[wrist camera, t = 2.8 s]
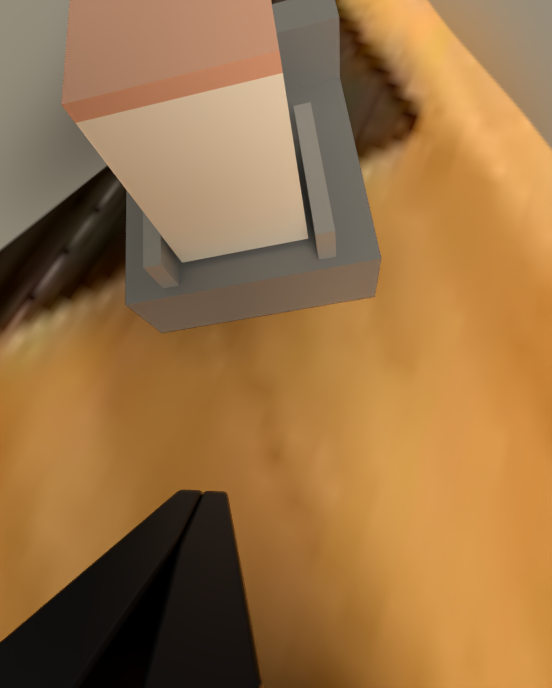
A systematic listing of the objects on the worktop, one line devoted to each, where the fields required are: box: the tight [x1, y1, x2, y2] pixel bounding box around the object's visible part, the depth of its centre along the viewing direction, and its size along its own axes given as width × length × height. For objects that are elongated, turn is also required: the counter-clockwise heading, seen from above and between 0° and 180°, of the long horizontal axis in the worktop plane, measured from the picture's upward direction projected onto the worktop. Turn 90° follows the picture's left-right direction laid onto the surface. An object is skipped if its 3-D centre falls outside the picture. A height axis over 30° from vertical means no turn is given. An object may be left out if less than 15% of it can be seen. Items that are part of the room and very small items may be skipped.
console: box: [125, 0, 381, 333], centre depth 21 cm, size 14×12×7 cm
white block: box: [61, 0, 308, 263], centre depth 15 cm, size 5×6×9 cm
